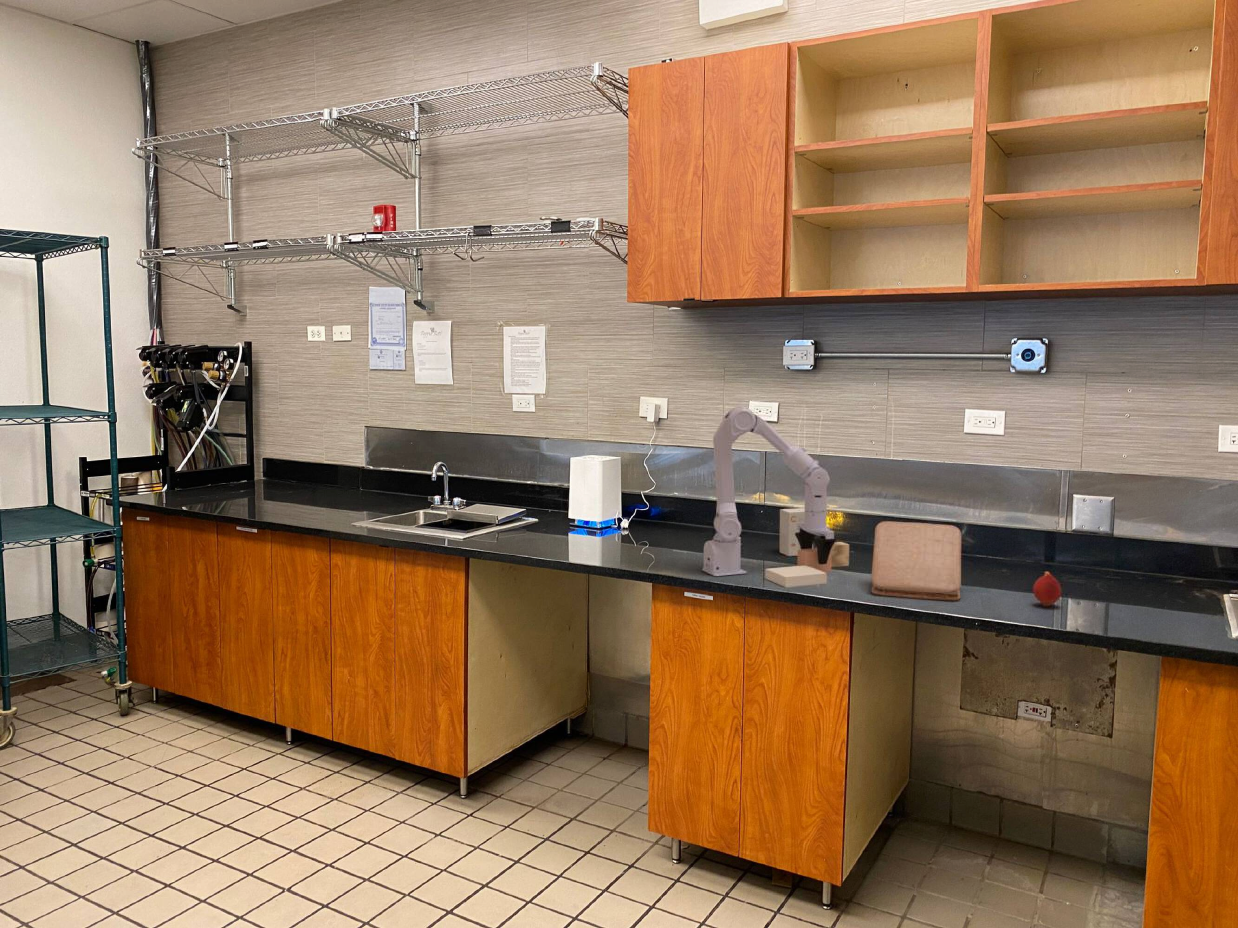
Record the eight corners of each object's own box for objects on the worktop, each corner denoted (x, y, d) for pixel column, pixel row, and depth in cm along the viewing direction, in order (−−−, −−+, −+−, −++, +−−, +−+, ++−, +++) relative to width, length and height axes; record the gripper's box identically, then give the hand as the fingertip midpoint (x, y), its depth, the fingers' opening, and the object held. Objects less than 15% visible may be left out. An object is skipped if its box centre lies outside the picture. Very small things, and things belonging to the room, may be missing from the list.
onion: (1052, 602, 206) (1054, 568, 206) (1065, 609, 201) (1067, 574, 200) (1027, 602, 206) (1029, 569, 205) (1040, 609, 201) (1041, 574, 200)
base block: (785, 588, 222) (785, 577, 222) (765, 580, 231) (765, 568, 231) (826, 584, 226) (827, 573, 226) (805, 576, 235) (805, 565, 235)
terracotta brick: (805, 574, 235) (805, 552, 235) (797, 571, 239) (797, 549, 239) (831, 572, 238) (831, 550, 238) (822, 569, 242) (823, 547, 241)
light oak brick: (823, 568, 243) (824, 546, 243) (815, 565, 247) (816, 543, 246) (848, 565, 246) (849, 544, 245) (840, 562, 250) (840, 541, 249)
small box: (803, 550, 266) (804, 507, 265) (813, 555, 260) (814, 510, 258) (778, 552, 264) (779, 508, 263) (787, 556, 258) (788, 512, 256)
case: (869, 596, 214) (871, 530, 212) (875, 576, 233) (877, 516, 231) (960, 604, 207) (963, 536, 205) (959, 583, 226) (962, 521, 225)
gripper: (844, 513, 232) (843, 565, 233) (813, 506, 245) (812, 554, 247) (820, 515, 229) (820, 567, 231) (791, 507, 243) (790, 556, 244)
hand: (814, 561), depth 238 cm, fingers open, 7 cm apart
